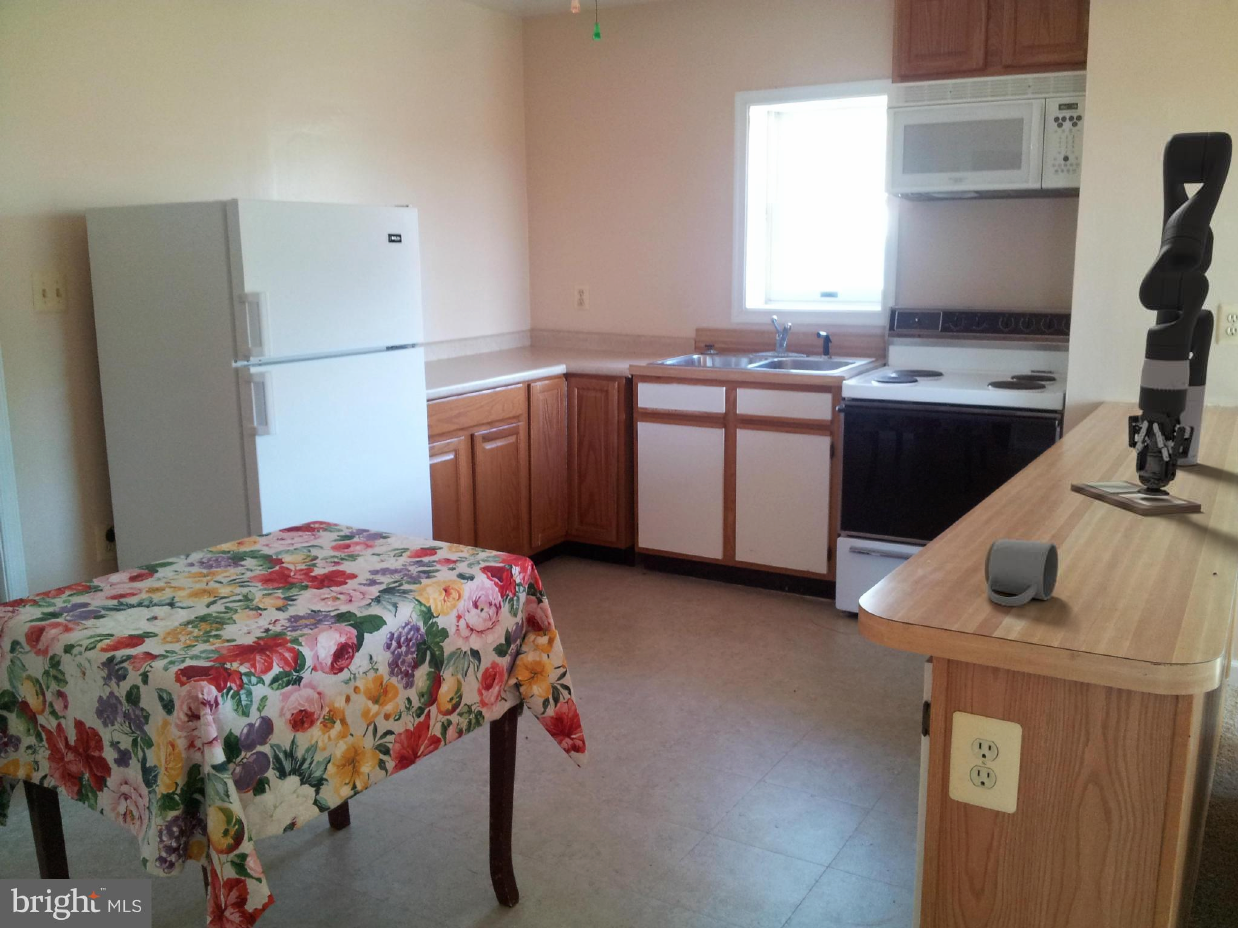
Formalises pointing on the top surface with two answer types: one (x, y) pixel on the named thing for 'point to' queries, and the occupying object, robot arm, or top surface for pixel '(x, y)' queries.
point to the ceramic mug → (1021, 570)
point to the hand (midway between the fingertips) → (1154, 476)
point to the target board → (1134, 498)
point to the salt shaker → (1153, 471)
